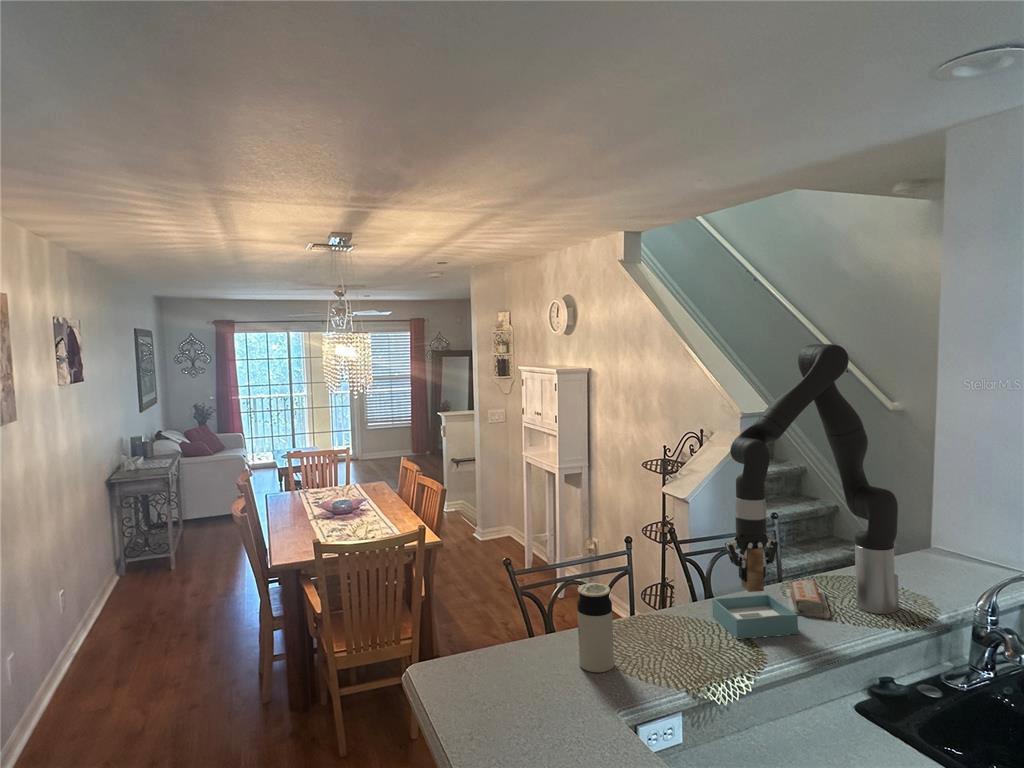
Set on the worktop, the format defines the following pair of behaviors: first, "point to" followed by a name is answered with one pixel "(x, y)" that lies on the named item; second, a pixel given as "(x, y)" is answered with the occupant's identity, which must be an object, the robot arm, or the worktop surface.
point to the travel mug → (595, 628)
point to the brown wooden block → (754, 571)
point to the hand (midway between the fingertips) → (752, 580)
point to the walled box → (754, 616)
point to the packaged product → (807, 599)
